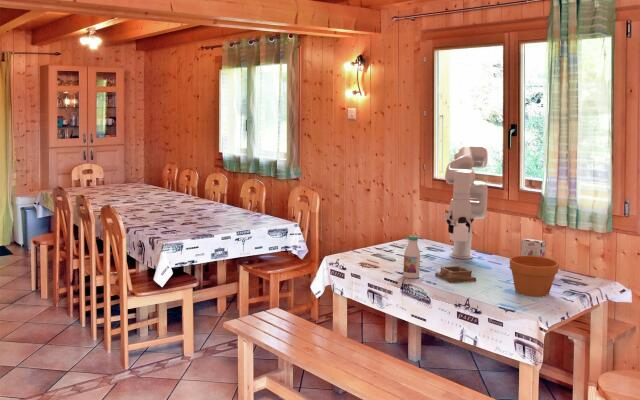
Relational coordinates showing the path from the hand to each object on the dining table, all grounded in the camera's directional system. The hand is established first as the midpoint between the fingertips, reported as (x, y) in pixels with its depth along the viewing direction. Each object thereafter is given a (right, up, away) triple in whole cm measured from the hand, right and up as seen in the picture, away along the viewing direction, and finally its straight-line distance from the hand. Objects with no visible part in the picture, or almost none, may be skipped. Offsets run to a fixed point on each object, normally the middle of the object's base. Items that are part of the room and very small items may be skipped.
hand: (458, 232), depth 309 cm
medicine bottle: (0, -4, +1) cm, 4 cm away
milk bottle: (-23, -22, +3) cm, 32 cm away
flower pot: (+29, -26, -19) cm, 43 cm away
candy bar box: (+42, -21, +21) cm, 52 cm away
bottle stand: (-1, -22, +3) cm, 22 cm away
